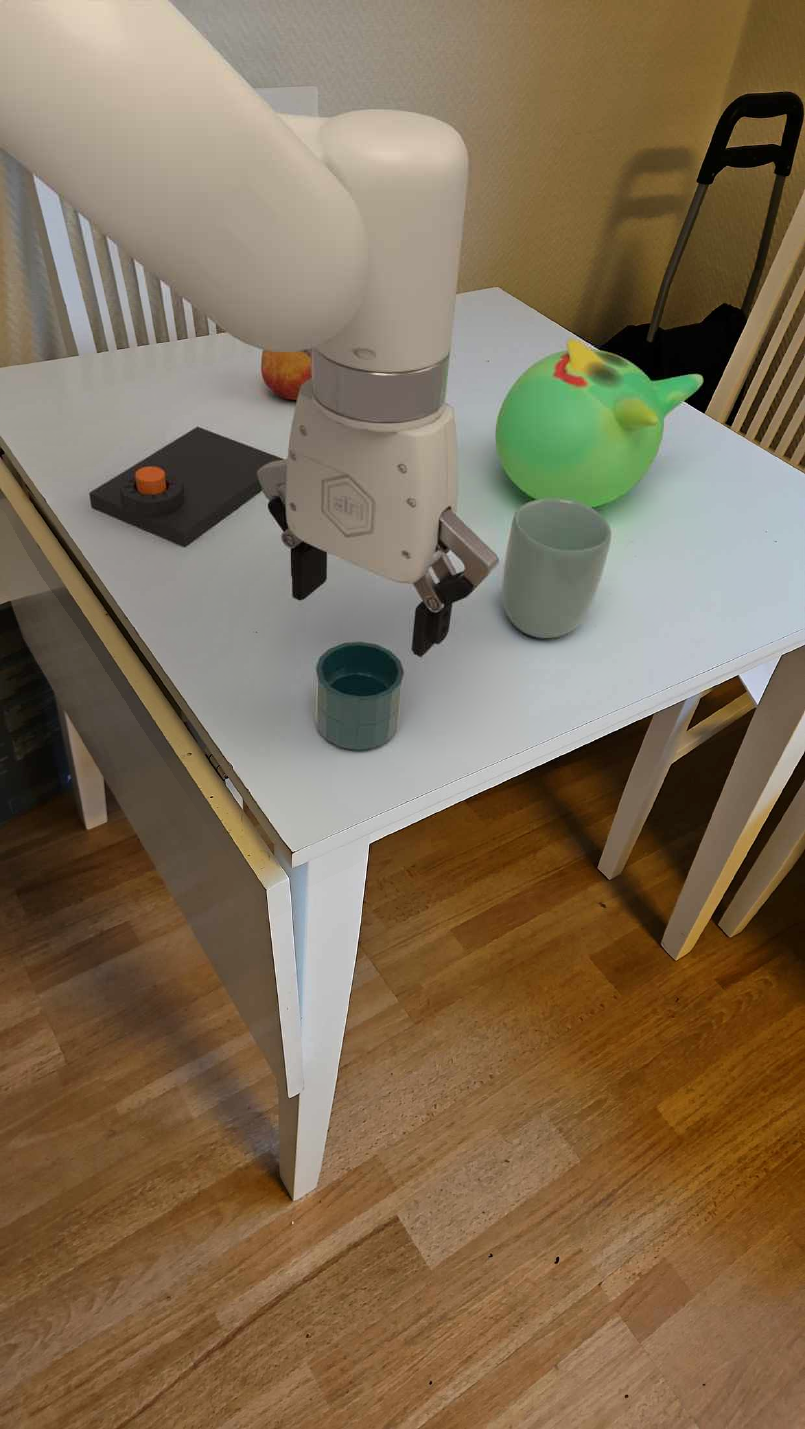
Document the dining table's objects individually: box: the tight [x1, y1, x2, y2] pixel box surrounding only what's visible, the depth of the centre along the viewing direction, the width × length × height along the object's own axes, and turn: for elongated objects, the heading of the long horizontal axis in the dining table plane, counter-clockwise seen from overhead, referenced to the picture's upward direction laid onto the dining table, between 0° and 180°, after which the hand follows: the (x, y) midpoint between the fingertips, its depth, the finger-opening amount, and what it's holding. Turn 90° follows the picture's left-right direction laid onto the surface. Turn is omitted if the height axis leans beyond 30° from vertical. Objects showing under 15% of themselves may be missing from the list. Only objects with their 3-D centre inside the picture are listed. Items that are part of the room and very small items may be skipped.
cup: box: [501, 498, 612, 639], centre depth 79 cm, size 8×8×10 cm
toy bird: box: [495, 338, 704, 508], centre depth 93 cm, size 18×17×15 cm
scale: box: [88, 426, 285, 548], centre depth 92 cm, size 16×11×3 cm
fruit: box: [260, 350, 312, 401], centre depth 106 cm, size 8×8×8 cm
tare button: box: [135, 467, 166, 495], centre depth 87 cm, size 3×3×2 cm
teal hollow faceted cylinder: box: [314, 641, 405, 751], centre depth 70 cm, size 6×6×6 cm
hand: (367, 616), depth 65 cm, fingers open, 9 cm apart
